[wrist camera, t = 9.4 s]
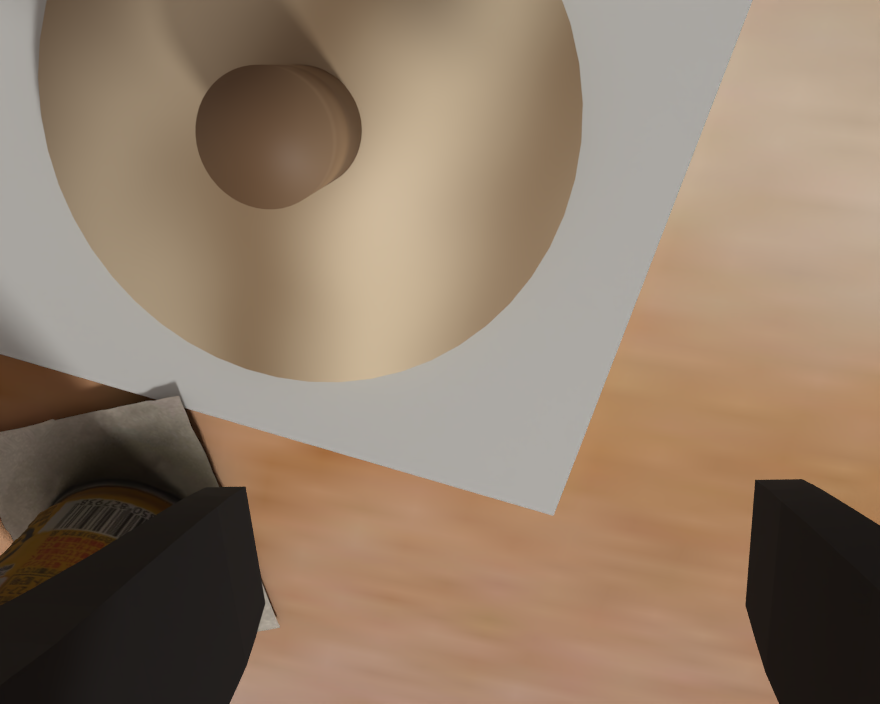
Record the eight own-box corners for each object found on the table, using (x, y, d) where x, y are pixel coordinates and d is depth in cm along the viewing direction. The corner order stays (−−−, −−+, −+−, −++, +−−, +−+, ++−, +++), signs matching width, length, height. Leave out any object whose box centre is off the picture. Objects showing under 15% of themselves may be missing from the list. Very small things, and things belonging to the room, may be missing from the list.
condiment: (81, 654, 26) (-230, 1113, 15) (-38, 438, 23) (-535, 815, 12) (282, 622, 25) (104, 1096, 14) (183, 390, 22) (-145, 760, 11)
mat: (785, -98, 17) (791, -102, 17) (552, 508, 23) (553, 515, 22) (-10, -336, 17) (-22, -346, 16) (-44, 333, 22) (-54, 338, 22)
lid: (644, -132, 16) (676, -185, 13) (517, 413, 21) (516, 483, 18) (54, -235, 17) (-71, -315, 13) (58, 320, 22) (-33, 371, 18)
